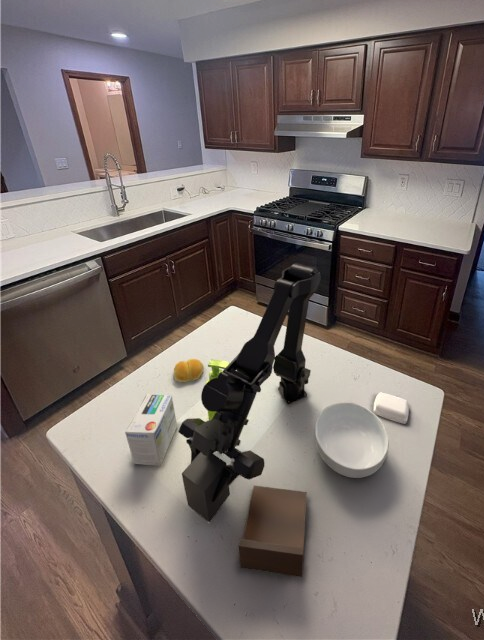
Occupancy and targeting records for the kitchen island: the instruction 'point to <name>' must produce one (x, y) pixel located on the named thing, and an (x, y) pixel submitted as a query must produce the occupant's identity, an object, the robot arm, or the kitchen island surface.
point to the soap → (391, 407)
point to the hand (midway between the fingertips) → (201, 492)
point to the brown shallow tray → (274, 532)
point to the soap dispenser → (215, 376)
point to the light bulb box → (152, 430)
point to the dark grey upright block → (204, 485)
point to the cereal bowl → (351, 439)
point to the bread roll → (188, 370)
